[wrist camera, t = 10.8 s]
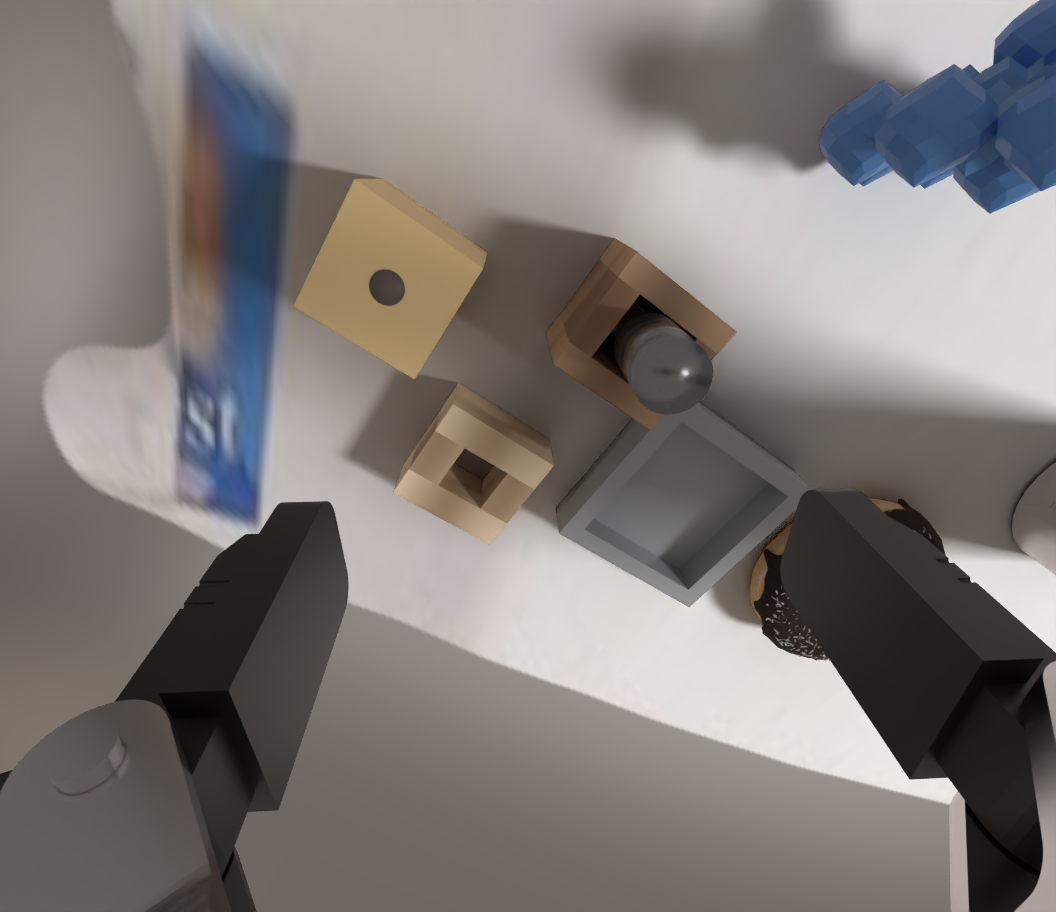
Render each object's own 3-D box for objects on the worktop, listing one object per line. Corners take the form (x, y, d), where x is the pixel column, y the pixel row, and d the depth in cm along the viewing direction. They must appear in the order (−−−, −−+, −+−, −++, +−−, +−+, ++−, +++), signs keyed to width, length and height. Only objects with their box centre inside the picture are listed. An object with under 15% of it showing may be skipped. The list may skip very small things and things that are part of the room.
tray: (793, 470, 31) (814, 492, 29) (677, 579, 35) (689, 607, 33) (667, 378, 28) (680, 395, 26) (555, 508, 32) (559, 533, 30)
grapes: (1083, 28, 22) (1632, -115, 11) (1009, 209, 25) (1380, 234, 14) (806, 15, 21) (1101, -147, 11) (766, 201, 24) (963, 220, 14)
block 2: (699, 306, 27) (736, 331, 22) (628, 390, 29) (650, 430, 24) (614, 238, 25) (636, 251, 21) (545, 333, 27) (552, 363, 23)
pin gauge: (663, 311, 27) (729, 368, 19) (627, 355, 28) (675, 428, 20) (621, 277, 26) (670, 323, 18) (585, 324, 27) (617, 387, 19)
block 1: (487, 252, 25) (483, 268, 21) (429, 346, 27) (414, 379, 23) (383, 178, 24) (354, 178, 19) (330, 284, 26) (292, 306, 21)
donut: (948, 561, 35) (997, 604, 32) (792, 652, 39) (821, 699, 35) (871, 456, 31) (917, 492, 28) (705, 568, 35) (727, 612, 31)
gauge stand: (550, 440, 30) (553, 465, 27) (491, 514, 32) (489, 544, 29) (458, 382, 28) (453, 404, 25) (403, 464, 30) (392, 492, 28)
